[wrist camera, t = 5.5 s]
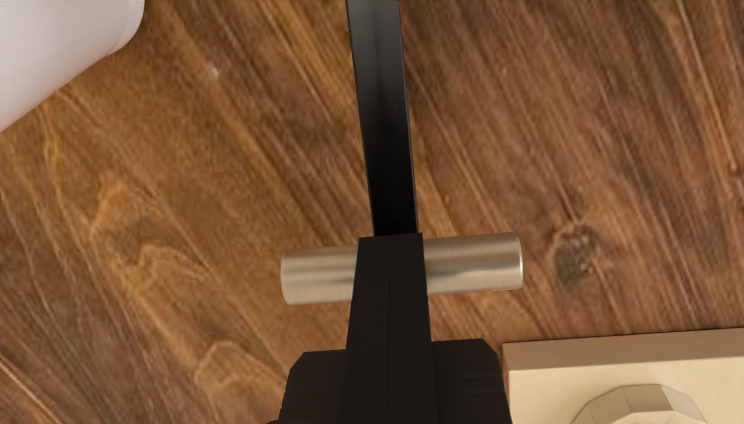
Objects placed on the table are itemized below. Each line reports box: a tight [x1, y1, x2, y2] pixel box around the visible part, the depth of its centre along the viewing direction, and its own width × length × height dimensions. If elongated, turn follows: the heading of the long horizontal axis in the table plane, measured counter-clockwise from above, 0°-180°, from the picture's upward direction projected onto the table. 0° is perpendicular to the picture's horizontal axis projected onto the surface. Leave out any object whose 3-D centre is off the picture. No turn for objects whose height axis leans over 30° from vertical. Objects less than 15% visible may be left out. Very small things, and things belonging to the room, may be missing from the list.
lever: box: [280, 0, 524, 305], centre depth 14 cm, size 14×6×2 cm, turn 6°
